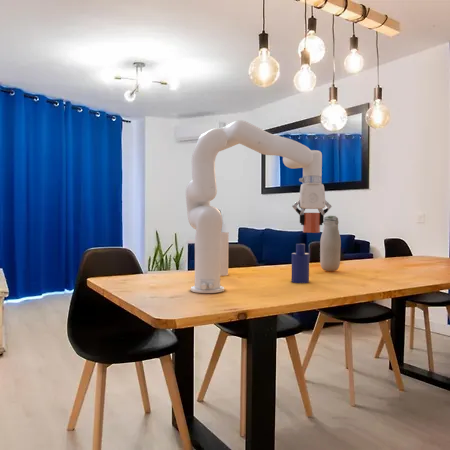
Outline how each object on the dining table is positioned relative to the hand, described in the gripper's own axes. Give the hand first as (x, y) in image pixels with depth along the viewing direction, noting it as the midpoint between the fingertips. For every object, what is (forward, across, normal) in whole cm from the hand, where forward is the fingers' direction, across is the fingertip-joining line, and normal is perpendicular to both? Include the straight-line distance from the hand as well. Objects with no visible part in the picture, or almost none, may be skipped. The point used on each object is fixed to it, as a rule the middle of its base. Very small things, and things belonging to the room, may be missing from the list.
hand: (311, 224), depth 178 cm
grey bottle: (+24, +18, +40) cm, 51 cm away
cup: (+3, 0, 0) cm, 3 cm away
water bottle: (+24, -3, +6) cm, 25 cm away
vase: (+25, -38, +30) cm, 54 cm away
